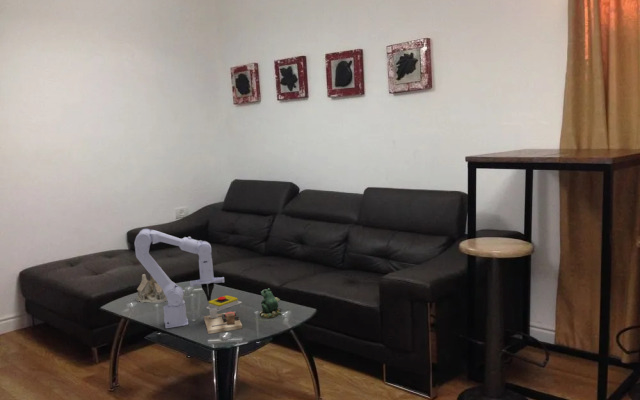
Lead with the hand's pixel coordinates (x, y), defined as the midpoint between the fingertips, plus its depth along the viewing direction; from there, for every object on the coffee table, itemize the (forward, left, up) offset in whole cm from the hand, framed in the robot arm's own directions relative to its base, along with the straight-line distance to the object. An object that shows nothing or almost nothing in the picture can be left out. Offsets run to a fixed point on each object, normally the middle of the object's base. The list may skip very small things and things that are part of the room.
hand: (208, 300), depth 238 cm
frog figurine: (+26, -4, -10) cm, 28 cm away
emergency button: (+8, +17, -10) cm, 21 cm away
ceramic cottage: (-23, +43, -9) cm, 50 cm away
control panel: (+4, -7, -9) cm, 12 cm away
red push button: (+8, -7, -7) cm, 13 cm away
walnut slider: (+7, -12, -7) cm, 16 cm away
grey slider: (+1, -2, -7) cm, 8 cm away
